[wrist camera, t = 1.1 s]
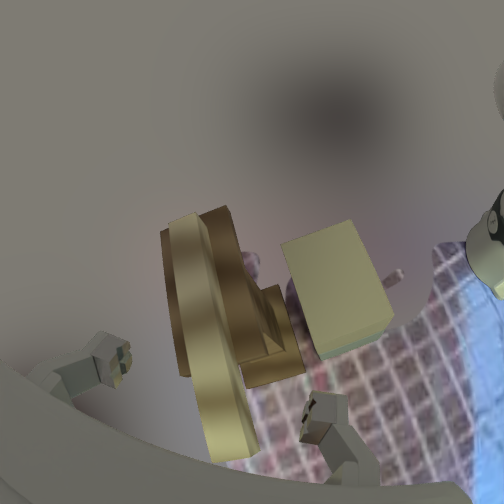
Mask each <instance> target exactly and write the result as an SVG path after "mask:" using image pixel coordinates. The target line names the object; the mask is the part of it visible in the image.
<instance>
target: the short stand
mask: <svg viewBox="0 0 504 504" xmlns="http://www.w3.org/2000/svg"><path fill="white" fill-rule="evenodd" d="M199 217H200V219H201V220H202V221H203V223H204V224H205V225H206V227H207V229H208V234H209V239H210V244H211V248H212V253H213V258H214V263H215V267H216V272H217V277H218V281H219V286H220V290H221V295H222V299H223V304H224V308H225V313H226V317H227V321H228V326H229V330H230V334H231V338H232V343H233V347H234V351H235V355H236V359H237V363H238V365H239V364H240V366H241V370H242V374H243V378H244V382H245V386H246V389H251V388H254V387H258V386H262V385H265V384H269V383H273V382H276V381H280V380H283V379H286V378H290V377H293V376H296V375H299V374H302V373H306V370H305V367H304V364H303V360H302V357H301V354H300V351H299V347H298V344H297V341H296V338H295V334H294V331H293V328H292V325H291V322H290V318H289V315H288V312H287V309H286V306H285V302H284V299H283V296H282V293H281V290H280V287H279V285H278V284H277V285H274V286H271V287H268V288H265V289H263V290H260V289H259V287H258V286H257V285H256V283H255V282H254V280H253V279H252V277H251V276H250V275H249V273H248V272H247V270H246V269H245V266H244V262H243V258H242V254H241V251H240V247H239V243H238V240H237V236H236V232H235V228H234V224H233V221H232V217H231V213H230V211H229V210H228V208H227V206H226V205H225V206H222V207H220V208H217V209H214V210H212V211H209V212H207V213H204V214H202V215H199ZM160 235H161V246H162V256H163V266H164V275H165V283H166V291H167V299H168V306H169V313H170V320H171V327H172V333H173V339H174V346H175V351H176V357H177V363H178V368H179V373H180V376H183V377H192V376H191V371H190V366H189V361H188V356H187V350H186V345H185V339H184V334H183V328H182V322H181V316H180V309H179V303H178V296H177V290H176V283H175V275H174V268H173V260H172V252H171V243H170V234H169V228H167V229H165V230H163V231H161V232H160Z"/></svg>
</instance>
